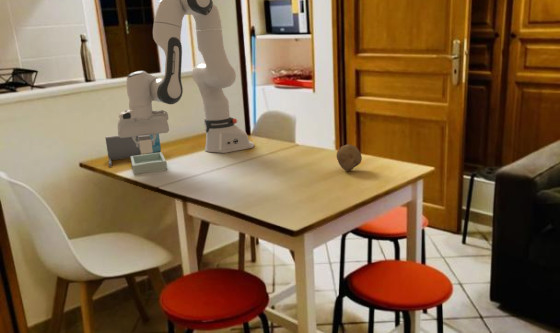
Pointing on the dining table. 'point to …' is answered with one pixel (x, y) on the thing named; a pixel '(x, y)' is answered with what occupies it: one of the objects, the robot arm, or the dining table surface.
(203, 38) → the robot arm
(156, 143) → the data package
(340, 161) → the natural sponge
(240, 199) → the dining table surface
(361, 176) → the dining table surface
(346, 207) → the dining table surface
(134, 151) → the bay
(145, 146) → the tall grey rectangular block
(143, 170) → the tray
